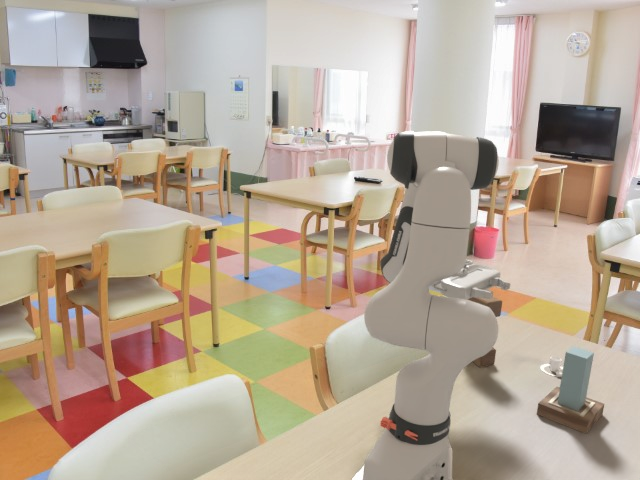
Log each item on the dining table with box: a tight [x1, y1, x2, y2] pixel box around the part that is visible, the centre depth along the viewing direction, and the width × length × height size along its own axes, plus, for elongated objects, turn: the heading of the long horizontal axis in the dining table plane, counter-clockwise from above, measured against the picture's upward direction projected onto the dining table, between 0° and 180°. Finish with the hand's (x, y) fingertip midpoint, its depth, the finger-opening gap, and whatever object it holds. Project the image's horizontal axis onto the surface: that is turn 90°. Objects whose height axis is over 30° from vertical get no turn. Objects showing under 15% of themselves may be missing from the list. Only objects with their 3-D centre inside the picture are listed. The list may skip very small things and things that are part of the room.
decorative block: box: [467, 296, 503, 368], centre depth 175 cm, size 11×6×20 cm, turn 25°
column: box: [558, 345, 595, 411], centre depth 147 cm, size 5×5×14 cm
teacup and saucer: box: [539, 356, 563, 378], centre depth 172 cm, size 9×8×4 cm
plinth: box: [536, 386, 605, 435], centre depth 149 cm, size 12×12×3 cm
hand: (500, 291), depth 147 cm, fingers open, 8 cm apart
